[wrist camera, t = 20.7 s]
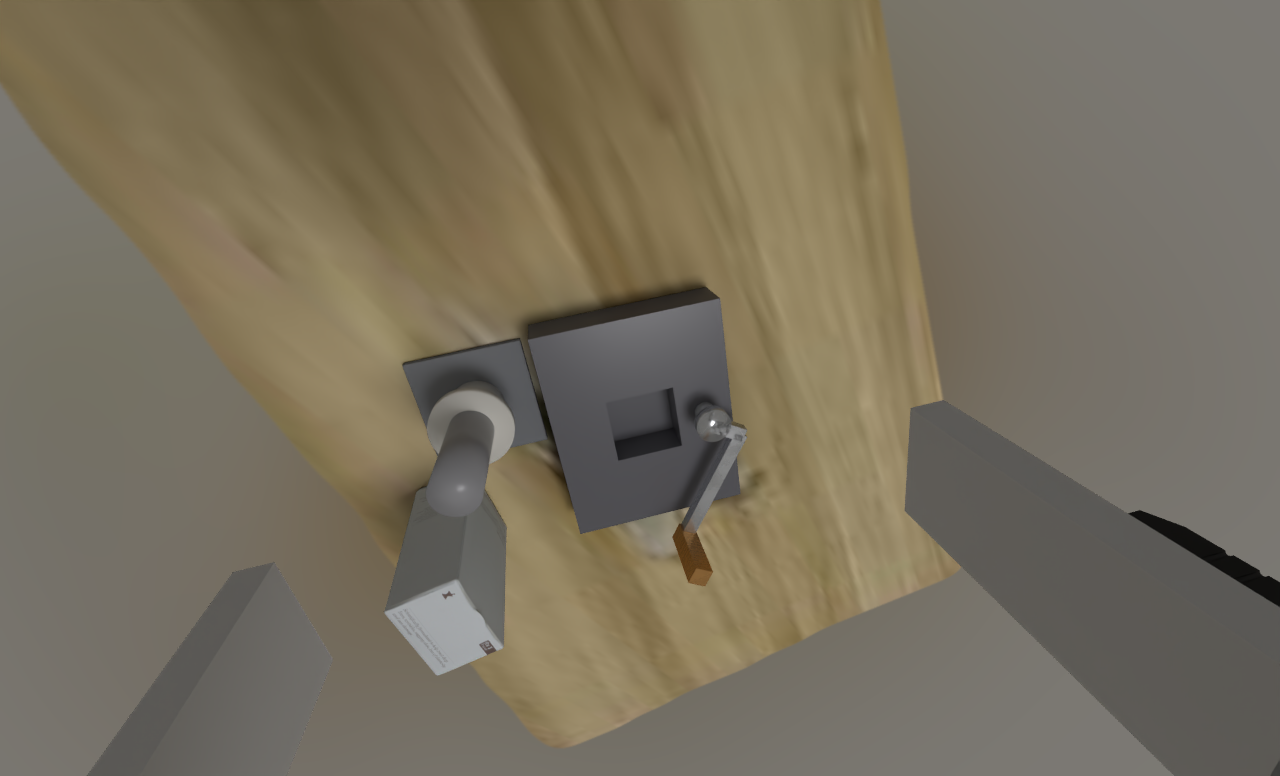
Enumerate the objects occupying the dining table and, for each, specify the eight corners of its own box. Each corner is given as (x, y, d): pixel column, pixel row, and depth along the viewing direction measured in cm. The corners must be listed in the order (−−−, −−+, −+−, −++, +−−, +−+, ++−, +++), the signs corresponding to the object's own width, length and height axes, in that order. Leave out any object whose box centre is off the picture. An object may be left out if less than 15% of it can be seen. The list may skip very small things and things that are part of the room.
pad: (403, 363, 46) (402, 365, 45) (519, 338, 47) (519, 340, 46) (441, 460, 50) (440, 463, 50) (547, 436, 51) (547, 439, 51)
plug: (451, 445, 49) (419, 546, 36) (427, 377, 46) (383, 462, 34) (525, 429, 50) (519, 523, 37) (506, 361, 47) (492, 438, 34)
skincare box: (416, 488, 51) (373, 609, 38) (476, 465, 51) (454, 578, 38) (457, 551, 55) (431, 682, 41) (513, 530, 55) (505, 653, 41)
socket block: (528, 325, 46) (527, 347, 41) (706, 287, 48) (727, 304, 43) (577, 508, 55) (582, 547, 50) (727, 471, 56) (747, 505, 51)
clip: (640, 529, 50) (652, 575, 45) (703, 401, 46) (725, 435, 40) (687, 540, 51) (704, 586, 46) (752, 417, 47) (780, 452, 42)
